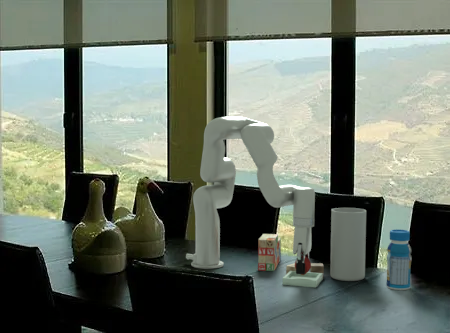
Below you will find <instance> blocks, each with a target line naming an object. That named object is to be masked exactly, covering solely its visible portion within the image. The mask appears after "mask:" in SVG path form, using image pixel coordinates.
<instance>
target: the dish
mask: <svg viewBox="0 0 450 333" xmlns="http://www.w3.org/2000/svg"><path fill="white" fill-rule="evenodd" d="M323 279H324V273H313V272H310V271H308V272H307V273H306V274H305V275H301V274H296V271H289V272H288V273H287V274H286V273H285V275H283V277H282V285H283V286H292V287H293V286H294V287H305V288H318V286H319V285H320V283H321V282H322V281H323Z"/></svg>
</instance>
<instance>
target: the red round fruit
mask: <svg viewBox="0 0 450 333" xmlns="http://www.w3.org/2000/svg"><path fill="white" fill-rule="evenodd" d="M302 254H303V253H302ZM301 257H302V258H303V256H301ZM294 263H295V269H296V260H295V261H294ZM304 263H305V274H306V273H307V272H310V268H311V263H312V262H311V260H310V258H309V259H308V258H307V257H306V256H305V262H304ZM305 274H301V275H305Z"/></svg>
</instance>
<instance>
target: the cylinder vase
mask: <svg viewBox="0 0 450 333" xmlns="http://www.w3.org/2000/svg"><path fill="white" fill-rule="evenodd" d="M330 220H331V222H330V225H331V226H330V231H331V232H330V274H329V275H330V277H331V278H332V279H334V280H337V281H342V282H343V281H344V282H357V281H361V280H363V279H365V276H366V242H367V241H366V239H367V238H366V237H367V210H366V209H364V208H356V207H338V208H337V207H335V208H331V217H330Z"/></svg>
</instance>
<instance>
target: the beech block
mask: <svg viewBox="0 0 450 333" xmlns="http://www.w3.org/2000/svg"><path fill="white" fill-rule="evenodd" d="M285 271H286V272H285V275H286V274H287V273H288V272H289V271H296V269H295V262H293V263H291V264H287V265H286V269H285Z"/></svg>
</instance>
